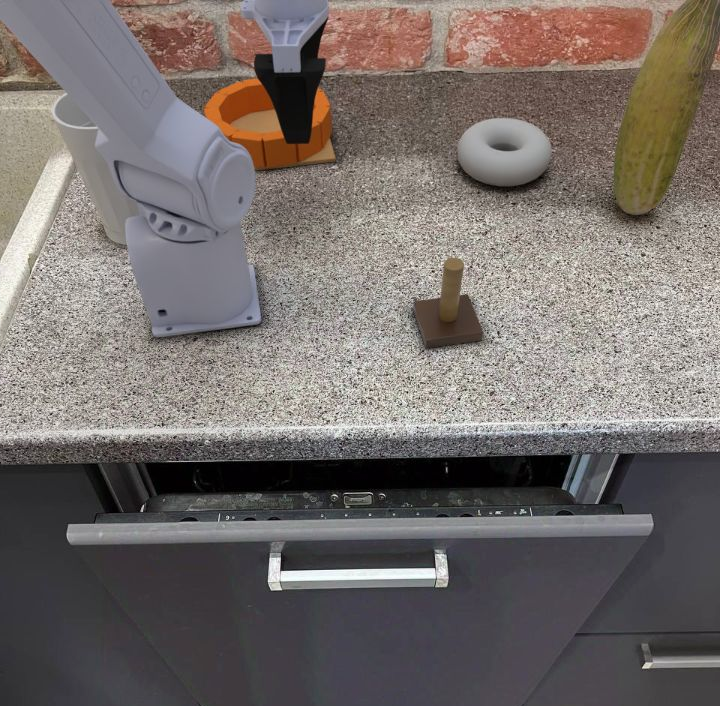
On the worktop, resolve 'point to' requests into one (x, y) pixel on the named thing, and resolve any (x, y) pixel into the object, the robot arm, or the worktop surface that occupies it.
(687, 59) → the vegetable
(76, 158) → the cup
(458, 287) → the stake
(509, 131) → the donut
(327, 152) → the mat
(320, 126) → the ring
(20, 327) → the worktop surface
